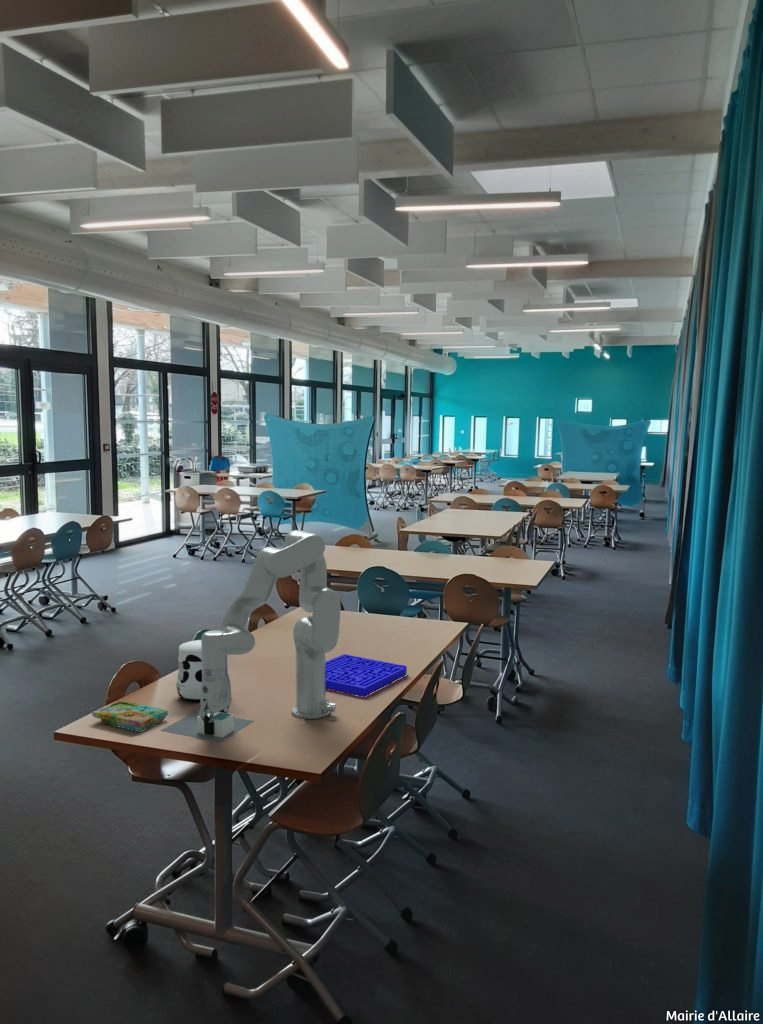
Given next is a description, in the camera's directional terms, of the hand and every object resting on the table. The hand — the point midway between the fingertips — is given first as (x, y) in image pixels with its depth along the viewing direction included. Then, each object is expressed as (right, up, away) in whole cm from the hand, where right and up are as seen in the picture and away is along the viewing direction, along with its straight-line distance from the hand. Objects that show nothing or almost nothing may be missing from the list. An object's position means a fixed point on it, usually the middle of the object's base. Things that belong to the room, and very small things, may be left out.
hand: (215, 729), depth 226 cm
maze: (+40, +3, +53) cm, 66 cm away
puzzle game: (-29, -1, +9) cm, 30 cm away
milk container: (-12, +2, +33) cm, 35 cm away
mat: (-3, -1, +5) cm, 6 cm away
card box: (0, -1, 0) cm, 1 cm away
